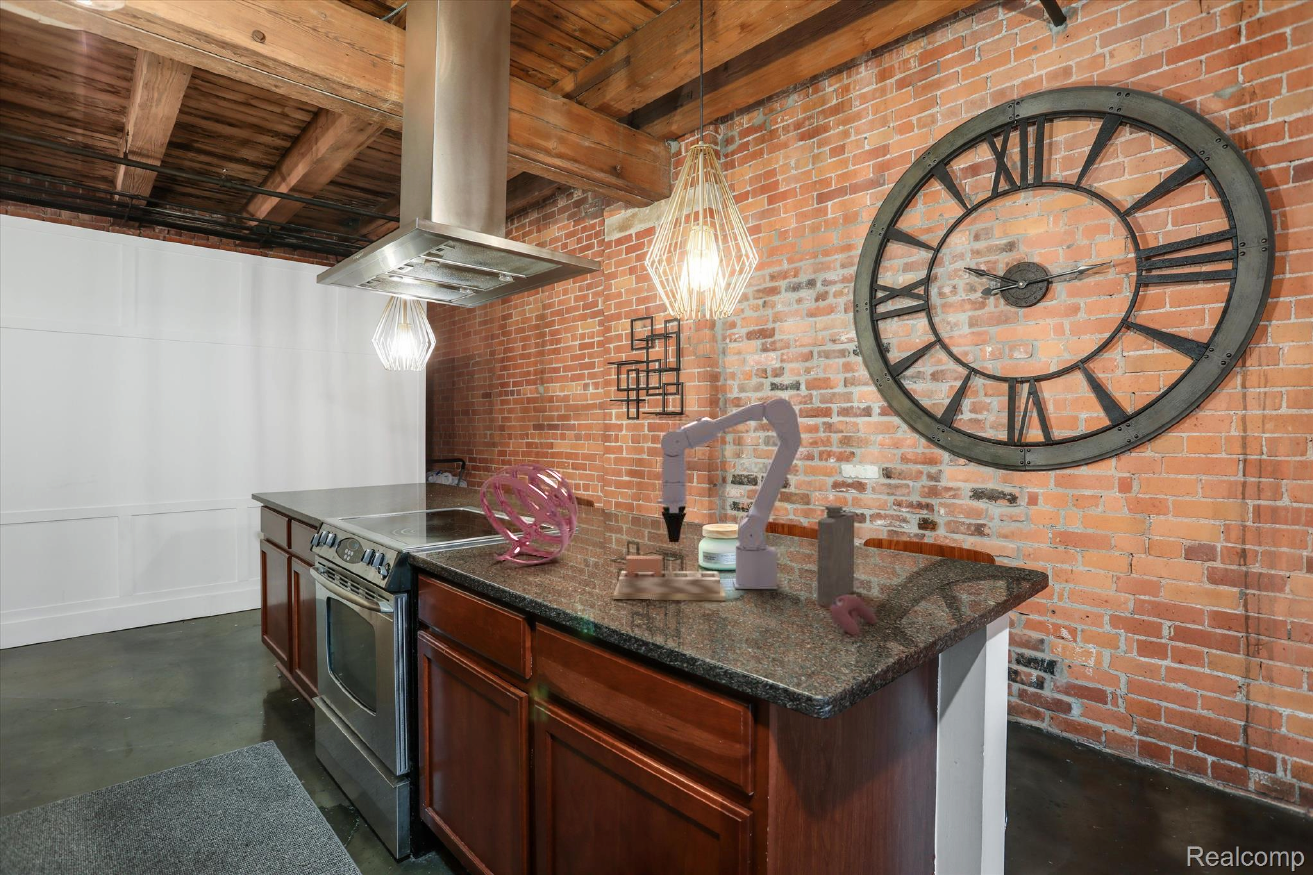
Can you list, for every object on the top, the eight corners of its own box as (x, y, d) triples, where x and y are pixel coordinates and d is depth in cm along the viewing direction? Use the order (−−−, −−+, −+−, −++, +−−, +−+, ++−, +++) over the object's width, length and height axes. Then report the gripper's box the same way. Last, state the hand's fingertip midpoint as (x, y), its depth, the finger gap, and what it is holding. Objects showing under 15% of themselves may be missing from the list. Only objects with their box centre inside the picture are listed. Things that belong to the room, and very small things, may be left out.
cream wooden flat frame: (721, 586, 147) (721, 569, 147) (725, 600, 136) (725, 581, 136) (618, 585, 148) (618, 568, 148) (613, 599, 137) (613, 581, 137)
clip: (662, 586, 144) (662, 555, 144) (662, 590, 141) (662, 558, 141) (627, 586, 144) (627, 555, 144) (626, 589, 141) (625, 558, 141)
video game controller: (859, 627, 124) (843, 592, 125) (880, 621, 121) (864, 586, 123) (837, 641, 116) (822, 604, 118) (859, 635, 113) (843, 597, 115)
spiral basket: (489, 500, 151) (554, 433, 169) (434, 516, 170) (498, 454, 188) (558, 584, 159) (614, 512, 178) (498, 590, 178) (554, 525, 196)
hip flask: (829, 607, 132) (830, 511, 131) (810, 603, 134) (811, 509, 133) (855, 590, 144) (856, 502, 144) (838, 587, 147) (838, 501, 146)
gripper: (657, 478, 158) (658, 533, 158) (656, 484, 143) (656, 544, 144) (686, 478, 158) (686, 533, 158) (687, 484, 143) (687, 545, 144)
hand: (674, 538), depth 151 cm, fingers open, 7 cm apart
